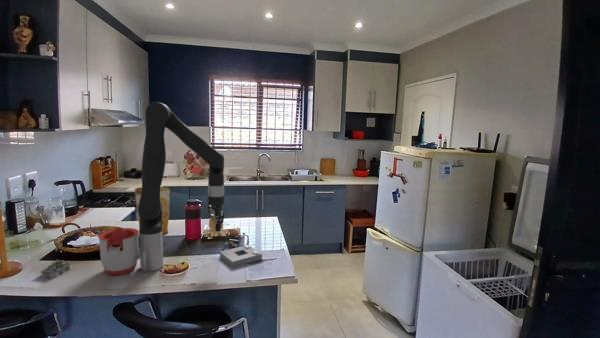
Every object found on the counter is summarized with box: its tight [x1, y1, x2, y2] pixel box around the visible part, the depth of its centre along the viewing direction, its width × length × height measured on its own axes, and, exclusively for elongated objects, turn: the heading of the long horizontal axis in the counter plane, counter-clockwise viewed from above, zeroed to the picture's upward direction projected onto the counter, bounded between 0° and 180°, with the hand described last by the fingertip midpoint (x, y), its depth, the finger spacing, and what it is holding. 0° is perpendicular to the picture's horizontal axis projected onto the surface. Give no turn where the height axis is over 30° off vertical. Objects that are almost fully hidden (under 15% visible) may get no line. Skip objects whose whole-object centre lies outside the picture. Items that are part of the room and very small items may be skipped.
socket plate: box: [219, 244, 263, 269], centre depth 159 cm, size 16×14×4 cm
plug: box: [208, 218, 224, 235], centre depth 151 cm, size 5×4×7 cm
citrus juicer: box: [98, 226, 140, 276], centre depth 142 cm, size 16×17×20 cm
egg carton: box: [39, 259, 72, 279], centre depth 140 cm, size 11×8×4 cm
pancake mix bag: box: [134, 186, 171, 235], centre depth 189 cm, size 7×19×28 cm, turn 104°
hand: (216, 229), depth 151 cm, fingers closed on plug, 4 cm apart
